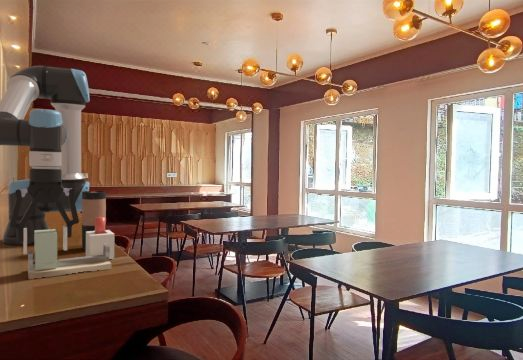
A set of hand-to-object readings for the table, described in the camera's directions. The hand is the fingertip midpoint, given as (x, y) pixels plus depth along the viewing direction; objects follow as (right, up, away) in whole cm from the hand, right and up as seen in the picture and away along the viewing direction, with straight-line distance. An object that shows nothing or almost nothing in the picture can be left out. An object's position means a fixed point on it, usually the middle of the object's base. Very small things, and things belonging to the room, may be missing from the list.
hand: (45, 251), depth 100 cm
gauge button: (+7, +2, +17) cm, 19 cm away
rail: (+5, -6, +4) cm, 8 cm away
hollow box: (+7, -5, +17) cm, 19 cm away
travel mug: (0, -5, +29) cm, 29 cm away
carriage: (0, -4, 0) cm, 4 cm away
